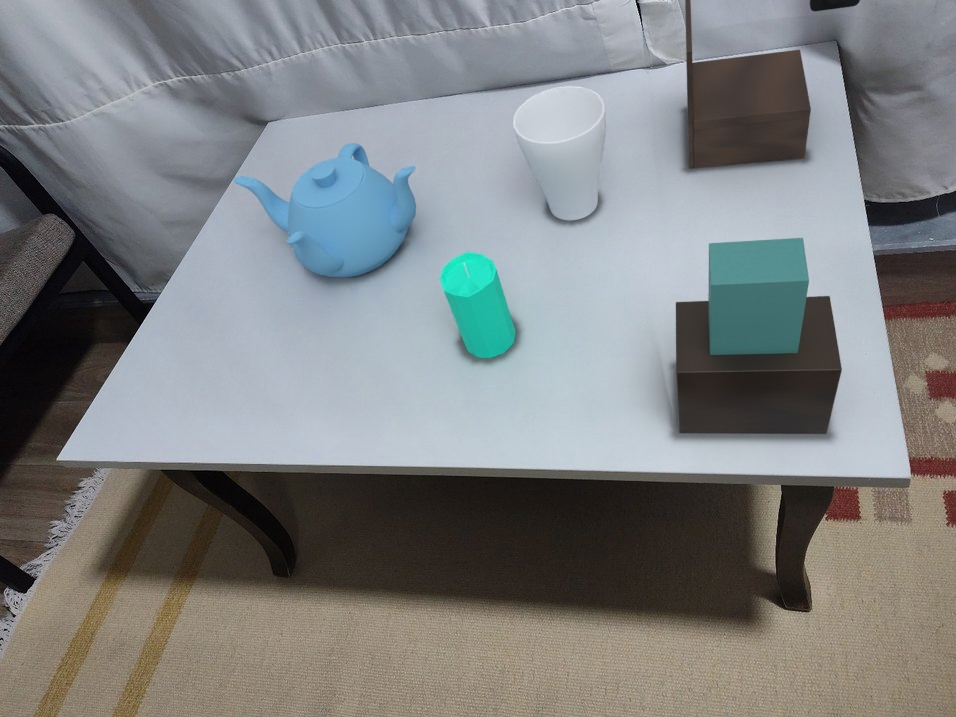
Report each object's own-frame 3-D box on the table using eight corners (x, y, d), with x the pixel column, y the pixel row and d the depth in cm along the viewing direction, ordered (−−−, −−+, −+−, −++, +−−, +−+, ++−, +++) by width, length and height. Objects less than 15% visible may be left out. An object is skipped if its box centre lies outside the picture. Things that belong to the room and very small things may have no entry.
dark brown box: (816, 363, 73) (829, 295, 66) (826, 434, 69) (842, 369, 61) (678, 366, 77) (675, 301, 69) (679, 433, 72) (676, 372, 65)
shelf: (794, 98, 98) (808, -24, 85) (804, 158, 91) (820, 35, 78) (687, 110, 101) (685, -6, 89) (688, 168, 94) (686, 52, 82)
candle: (464, 321, 87) (435, 247, 78) (514, 313, 86) (492, 237, 77) (464, 362, 84) (434, 289, 75) (517, 354, 83) (493, 279, 74)
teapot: (331, 316, 93) (289, 245, 84) (272, 244, 104) (229, 174, 95) (444, 241, 97) (416, 165, 87) (375, 179, 108) (343, 106, 98)
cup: (530, 237, 93) (508, 149, 83) (535, 181, 100) (515, 92, 89) (616, 229, 91) (605, 137, 80) (616, 172, 97) (605, 79, 87)
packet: (792, 312, 66) (802, 237, 59) (797, 353, 63) (809, 280, 56) (708, 315, 67) (708, 243, 61) (709, 355, 65) (710, 284, 58)
